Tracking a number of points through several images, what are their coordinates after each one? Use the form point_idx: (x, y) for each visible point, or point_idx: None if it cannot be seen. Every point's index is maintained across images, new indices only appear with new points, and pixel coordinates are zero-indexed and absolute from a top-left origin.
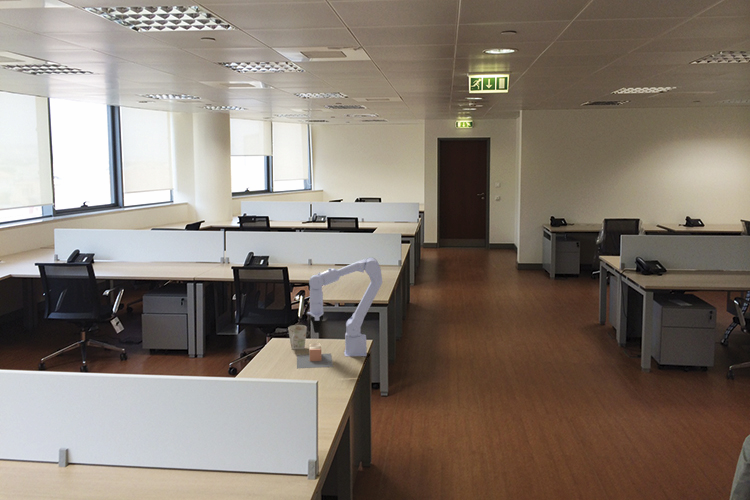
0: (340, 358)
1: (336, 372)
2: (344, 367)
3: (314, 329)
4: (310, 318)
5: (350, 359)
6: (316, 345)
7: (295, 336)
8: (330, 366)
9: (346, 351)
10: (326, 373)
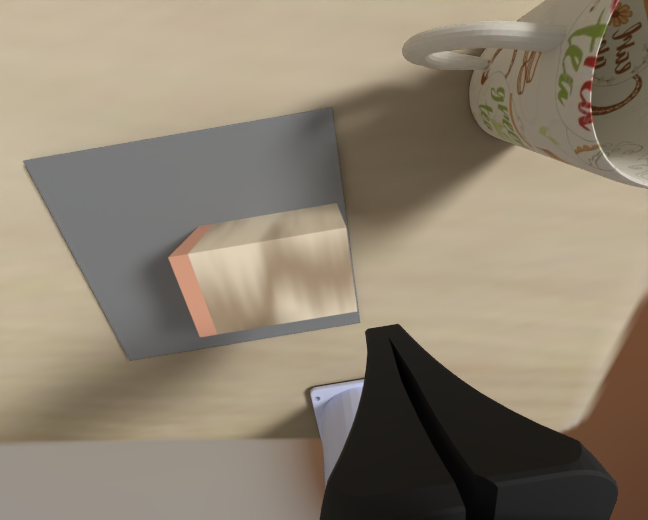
0: (294, 368)
1: (70, 377)
2: (157, 399)
3: (368, 357)
4: (351, 515)
5: (282, 407)
6: (298, 291)
7: (536, 53)
8: (130, 349)
9: (340, 406)
10: (35, 338)
